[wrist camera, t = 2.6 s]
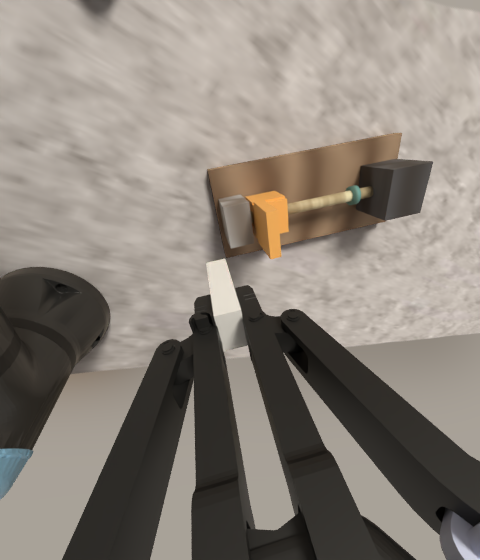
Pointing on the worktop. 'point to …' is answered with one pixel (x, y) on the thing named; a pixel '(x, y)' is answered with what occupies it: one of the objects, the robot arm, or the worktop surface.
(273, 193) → the orange sliding rod block
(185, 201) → the worktop surface
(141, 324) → the worktop surface
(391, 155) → the rail
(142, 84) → the worktop surface
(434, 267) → the worktop surface
